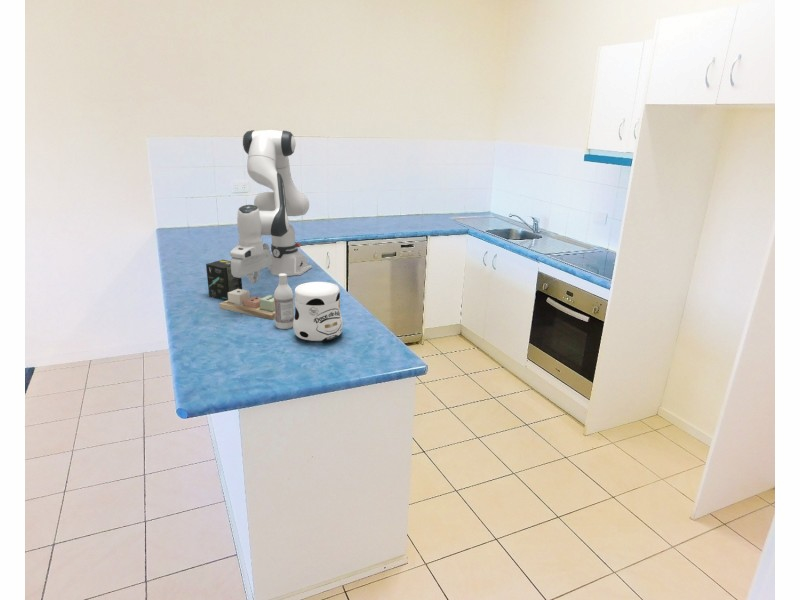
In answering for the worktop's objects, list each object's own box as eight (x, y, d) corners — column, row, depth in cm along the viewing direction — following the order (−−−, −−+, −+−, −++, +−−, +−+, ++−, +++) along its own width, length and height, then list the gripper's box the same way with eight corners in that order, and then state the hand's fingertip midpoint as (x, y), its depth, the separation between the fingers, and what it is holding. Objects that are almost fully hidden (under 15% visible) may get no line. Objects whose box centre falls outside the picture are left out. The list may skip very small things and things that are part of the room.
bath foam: (277, 322, 201) (275, 271, 195) (296, 322, 201) (294, 271, 195) (273, 329, 195) (270, 276, 188) (292, 329, 195) (290, 277, 188)
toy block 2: (254, 305, 217) (253, 295, 216) (266, 307, 215) (265, 298, 214) (244, 309, 212) (243, 300, 211) (256, 312, 210) (255, 302, 208)
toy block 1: (238, 297, 220) (237, 288, 219) (250, 300, 218) (249, 290, 216) (228, 302, 215) (227, 292, 213) (240, 304, 212) (239, 294, 211)
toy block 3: (269, 304, 214) (269, 294, 212) (282, 306, 211) (281, 296, 210) (260, 308, 208) (259, 298, 207) (272, 311, 206) (271, 301, 205)
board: (240, 299, 224) (239, 295, 223) (291, 310, 214) (290, 305, 213) (219, 308, 214) (219, 303, 213) (272, 319, 203) (271, 314, 203)
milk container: (333, 348, 180) (333, 298, 174) (285, 343, 184) (283, 293, 178) (348, 329, 196) (348, 283, 190) (304, 324, 200) (302, 278, 194)
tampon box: (243, 295, 229) (241, 262, 224) (226, 301, 221) (223, 267, 216) (225, 291, 234) (222, 258, 229) (208, 296, 226) (205, 263, 222)
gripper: (262, 241, 216) (264, 273, 220) (226, 253, 198) (229, 288, 203) (274, 243, 213) (276, 276, 218) (239, 255, 196) (242, 291, 201)
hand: (253, 282), depth 210 cm, fingers closed
